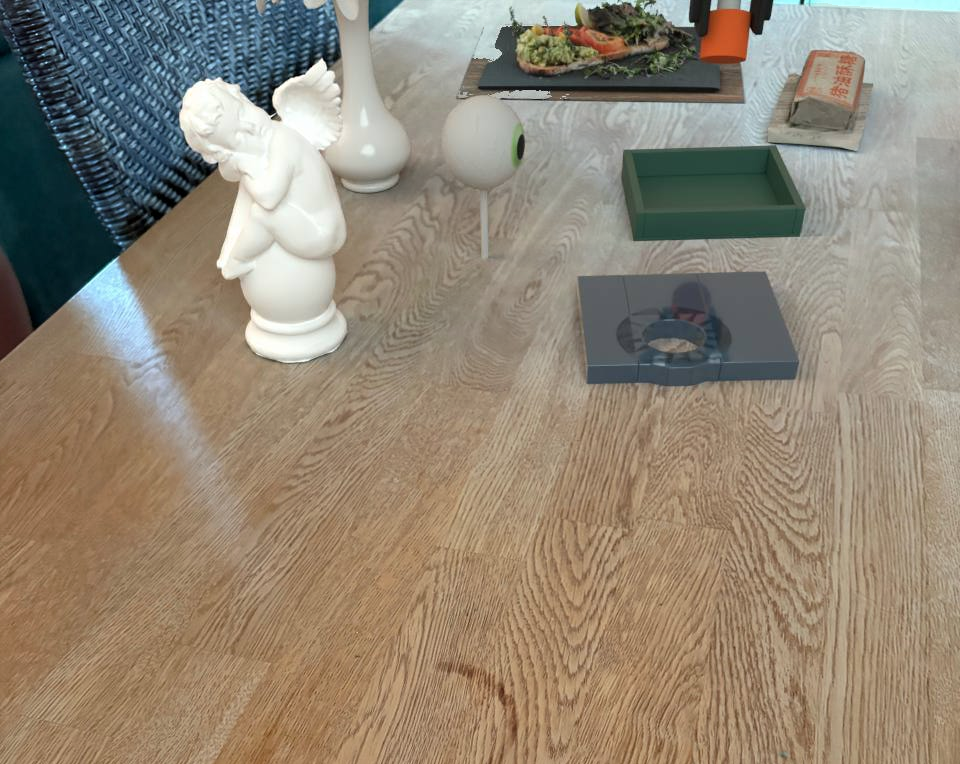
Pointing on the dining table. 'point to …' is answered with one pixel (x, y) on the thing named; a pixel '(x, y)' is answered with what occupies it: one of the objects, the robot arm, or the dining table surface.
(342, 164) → the flower vase
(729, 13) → the stopper
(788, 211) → the green tray
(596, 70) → the plated dish
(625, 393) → the dining table surface
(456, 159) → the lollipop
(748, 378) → the plate
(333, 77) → the cherub figurine
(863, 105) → the packaged product
